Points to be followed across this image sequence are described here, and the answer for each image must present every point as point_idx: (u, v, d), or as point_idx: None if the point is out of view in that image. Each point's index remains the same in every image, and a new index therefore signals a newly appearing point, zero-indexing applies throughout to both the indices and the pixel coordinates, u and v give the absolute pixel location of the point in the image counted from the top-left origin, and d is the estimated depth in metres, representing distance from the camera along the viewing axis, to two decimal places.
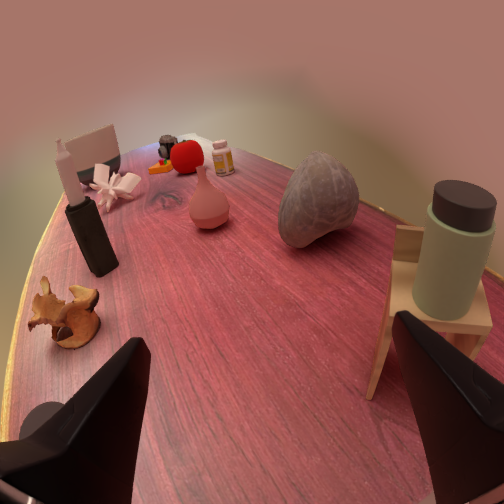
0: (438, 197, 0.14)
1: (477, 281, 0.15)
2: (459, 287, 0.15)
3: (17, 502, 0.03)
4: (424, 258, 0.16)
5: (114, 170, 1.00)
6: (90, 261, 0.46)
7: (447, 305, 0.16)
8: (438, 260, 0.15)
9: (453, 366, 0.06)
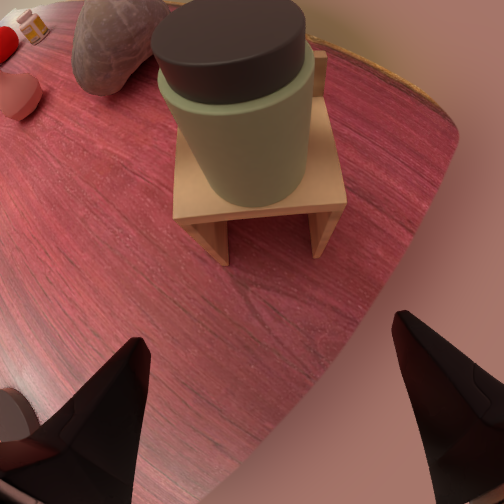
0: None
1: (296, 155, 0.10)
2: (259, 176, 0.10)
3: (17, 502, 0.03)
4: (186, 140, 0.10)
5: None
6: None
7: (251, 195, 0.12)
8: (200, 149, 0.09)
9: (453, 366, 0.06)
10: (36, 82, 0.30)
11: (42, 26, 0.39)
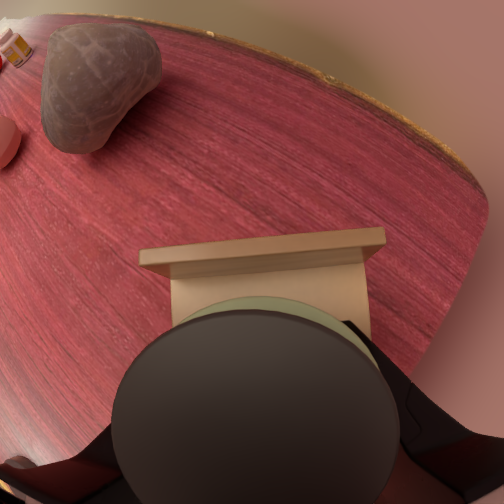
0: None
1: None
2: None
3: None
4: None
5: None
6: None
7: None
8: None
9: None
10: (13, 126, 0.28)
11: (24, 47, 0.36)
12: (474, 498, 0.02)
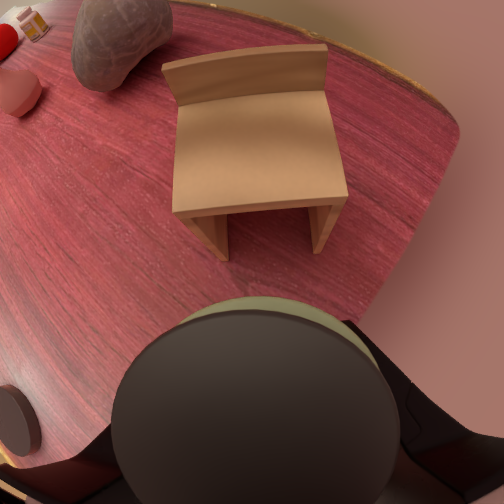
0: None
1: None
2: None
3: None
4: None
5: None
6: None
7: None
8: None
9: None
10: (36, 78, 0.30)
11: (42, 23, 0.39)
12: (474, 498, 0.02)
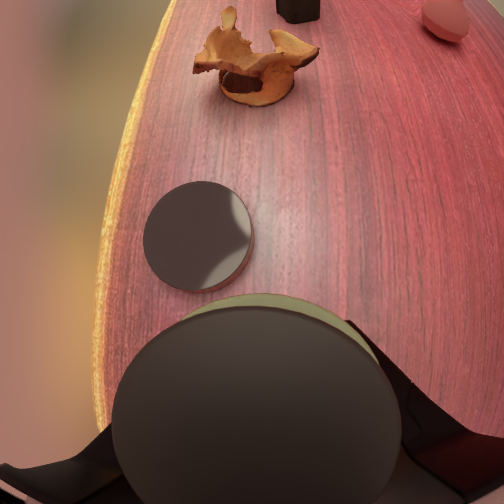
0: None
1: None
2: None
3: None
4: None
5: None
6: (287, 3, 0.28)
7: None
8: None
9: None
10: None
11: None
12: (474, 498, 0.02)
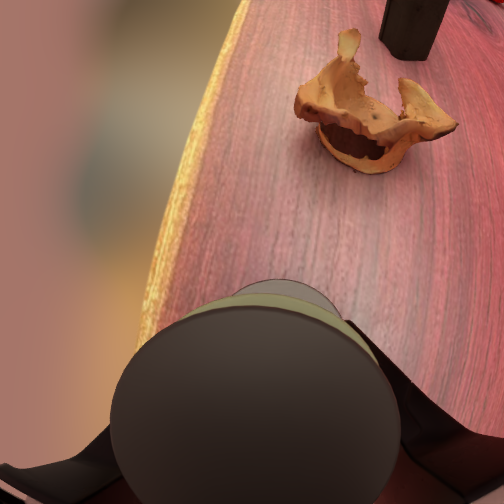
0: None
1: None
2: None
3: None
4: None
5: None
6: (401, 34, 0.21)
7: None
8: None
9: None
10: None
11: None
12: (474, 498, 0.02)
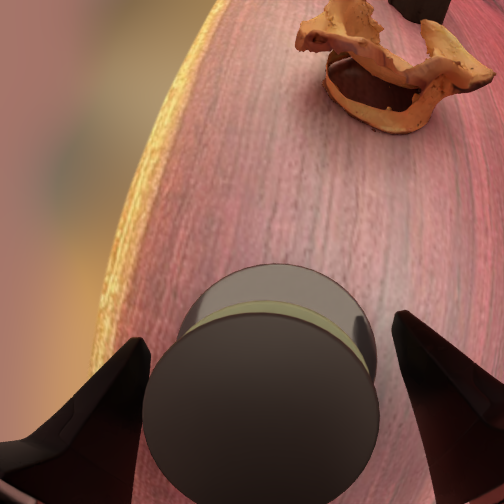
0: None
1: None
2: None
3: (17, 502, 0.03)
4: None
5: None
6: None
7: None
8: None
9: (453, 366, 0.06)
10: None
11: None
12: None
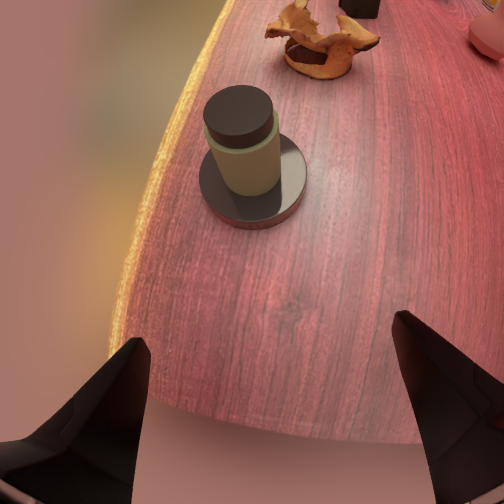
0: (205, 124, 0.17)
1: (272, 168, 0.21)
2: (253, 179, 0.21)
3: (17, 502, 0.03)
4: None
5: None
6: None
7: (249, 189, 0.22)
8: (224, 166, 0.20)
9: (453, 366, 0.06)
10: None
11: None
12: None
